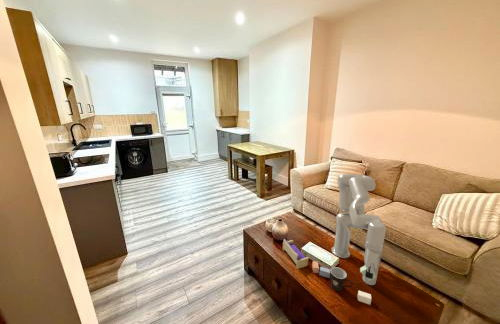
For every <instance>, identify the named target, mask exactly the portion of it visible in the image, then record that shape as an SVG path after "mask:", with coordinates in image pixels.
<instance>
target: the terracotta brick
mask: <svg viewBox="0 0 500 324" xmlns="http://www.w3.org/2000/svg"><path fill="white" fill-rule="evenodd" d="M318 262H319V261H314V260H313V261H312V263H311V267H312V273H314V274H319V273H320V267H319V263H318Z"/></svg>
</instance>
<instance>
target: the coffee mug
mask: <svg viewBox="0 0 500 324" xmlns="http://www.w3.org/2000/svg"><path fill="white" fill-rule="evenodd" d="M345 282H349V283H350V284H351V285H345ZM330 287H331V289H332V290H333V291H335V292H342V290H343V288H351V287H353V282H352V281H351V280H350V279H347V272H346V271H345V270H344V269H342V268H340V267H336V266H334V267H331V268H330Z"/></svg>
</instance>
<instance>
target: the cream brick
mask: <svg viewBox="0 0 500 324" xmlns="http://www.w3.org/2000/svg"><path fill="white" fill-rule="evenodd" d="M357 301H358V302H361V303H364V304H367V305H369V306H371V304H372V294H370V293H368V292H364V291H361V290H358V291H357Z"/></svg>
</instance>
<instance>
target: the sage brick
mask: <svg viewBox="0 0 500 324" xmlns="http://www.w3.org/2000/svg"><path fill="white" fill-rule="evenodd" d="M369 269H370V268H369ZM366 270H367V268H366V267H365V265H363V266H361V267H360V268H359V272H360V273H361V274H362V276H363V275H364V276H365V275H366ZM366 278H367V277H366ZM375 278H376V276H375V273H374V272H373V278H372V279H370V278H367V279H368V280H369V281H371V280H373V279H375Z"/></svg>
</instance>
